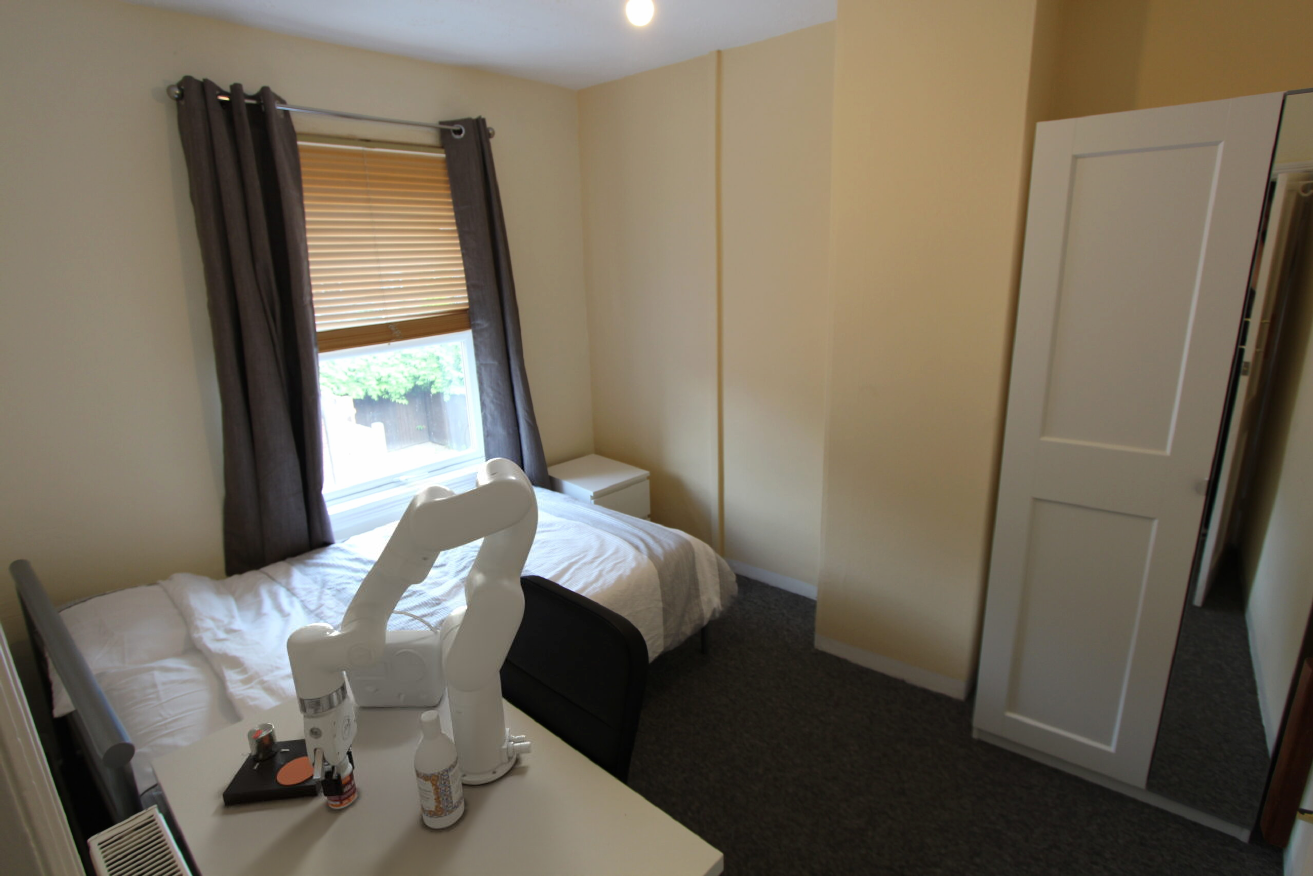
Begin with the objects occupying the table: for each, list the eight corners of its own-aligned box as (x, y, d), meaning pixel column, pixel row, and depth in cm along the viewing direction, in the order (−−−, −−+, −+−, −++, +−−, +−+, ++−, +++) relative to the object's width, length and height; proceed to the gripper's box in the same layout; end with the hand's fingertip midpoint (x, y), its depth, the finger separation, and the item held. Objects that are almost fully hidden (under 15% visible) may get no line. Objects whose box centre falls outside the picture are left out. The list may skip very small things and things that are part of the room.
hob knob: (259, 745, 130) (253, 722, 128) (282, 743, 130) (277, 720, 129) (247, 762, 125) (242, 738, 124) (272, 759, 126) (266, 736, 124)
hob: (345, 741, 134) (342, 730, 133) (317, 796, 120) (315, 784, 119) (255, 750, 132) (252, 739, 131) (217, 807, 118) (214, 794, 118)
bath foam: (414, 820, 114) (398, 722, 108) (445, 792, 119) (431, 697, 114) (443, 836, 110) (427, 735, 105) (473, 807, 116) (460, 709, 111)
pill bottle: (346, 811, 116) (338, 772, 114) (322, 808, 117) (314, 768, 115) (363, 790, 121) (355, 752, 118) (340, 787, 122) (332, 749, 119)
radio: (343, 713, 142) (324, 609, 135) (361, 689, 150) (343, 589, 143) (443, 712, 141) (428, 607, 134) (456, 688, 149) (442, 588, 142)
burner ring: (325, 755, 126) (324, 754, 126) (310, 783, 120) (310, 782, 120) (286, 759, 126) (286, 758, 126) (270, 787, 119) (269, 786, 119)
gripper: (326, 726, 105) (345, 819, 110) (361, 663, 122) (376, 747, 126) (277, 731, 105) (298, 824, 109) (319, 667, 121) (335, 751, 126)
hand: (339, 781), depth 118 cm, fingers closed on pill bottle, 4 cm apart
